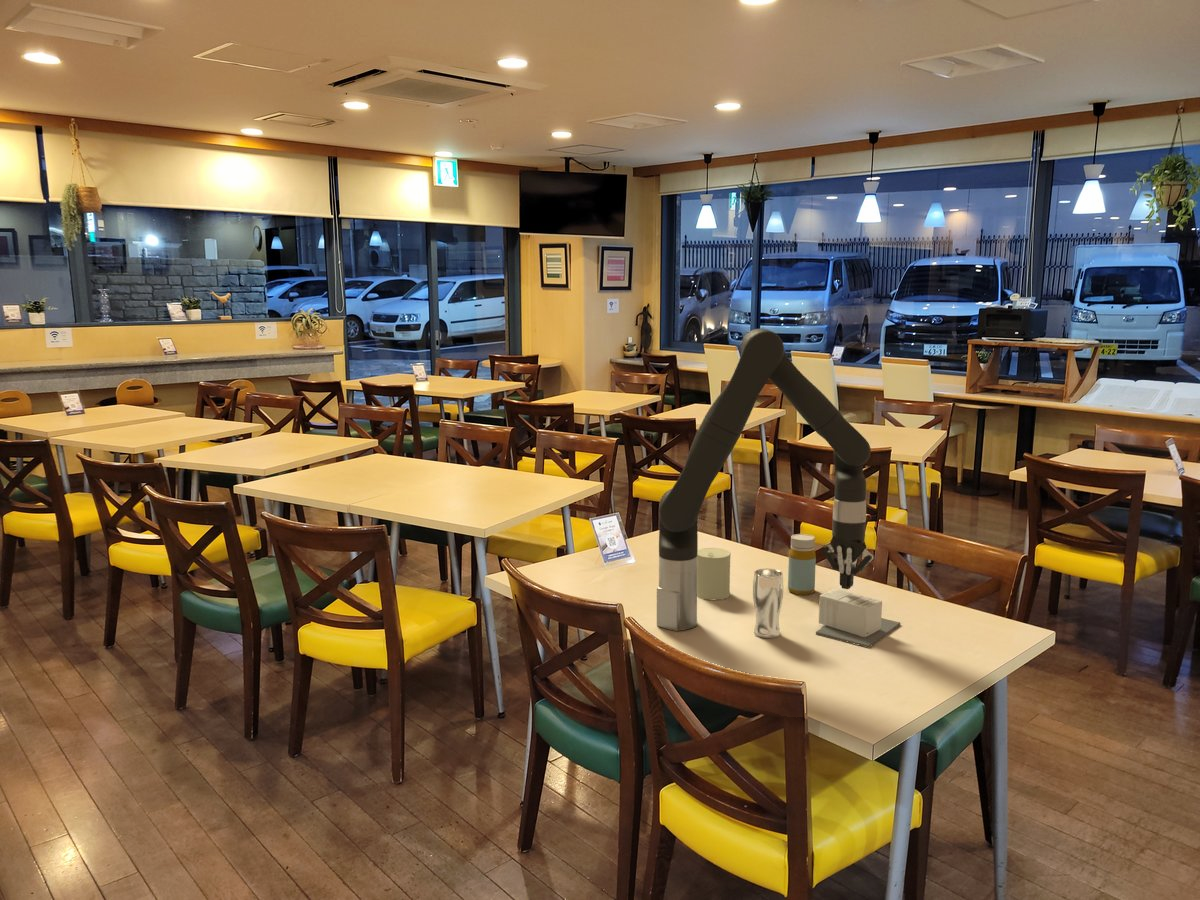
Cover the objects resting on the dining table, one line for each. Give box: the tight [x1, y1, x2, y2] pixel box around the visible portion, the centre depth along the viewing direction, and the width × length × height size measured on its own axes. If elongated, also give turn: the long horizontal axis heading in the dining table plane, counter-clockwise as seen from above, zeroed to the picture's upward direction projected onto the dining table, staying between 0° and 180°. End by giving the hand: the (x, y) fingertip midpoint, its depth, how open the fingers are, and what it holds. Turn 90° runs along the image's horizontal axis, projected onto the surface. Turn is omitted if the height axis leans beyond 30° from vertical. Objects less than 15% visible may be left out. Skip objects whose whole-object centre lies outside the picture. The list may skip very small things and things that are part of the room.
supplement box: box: [818, 588, 883, 638], centre depth 208 cm, size 7×7×13 cm
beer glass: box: [752, 567, 784, 639], centre depth 205 cm, size 7×7×15 cm
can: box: [697, 547, 731, 601], centre depth 232 cm, size 9×9×12 cm
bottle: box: [787, 533, 817, 596], centre depth 234 cm, size 7×7×15 cm
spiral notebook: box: [815, 617, 901, 648], centre depth 208 cm, size 18×13×1 cm
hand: (846, 588), depth 209 cm, fingers closed
